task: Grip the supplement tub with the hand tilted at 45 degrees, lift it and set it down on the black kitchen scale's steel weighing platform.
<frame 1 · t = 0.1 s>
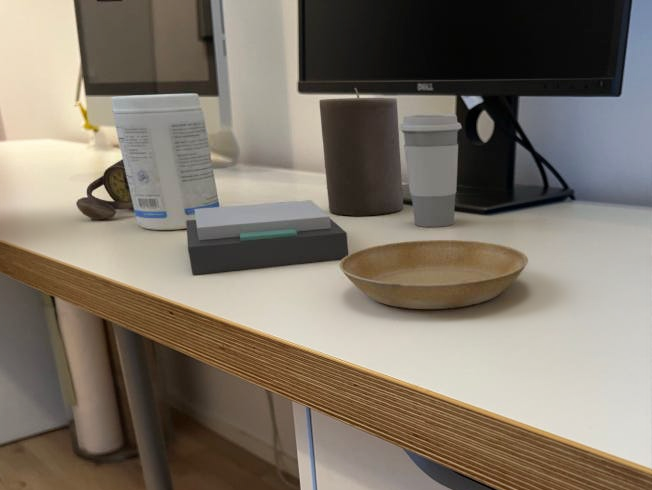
scale: (265, 250, 70), on the table
plant saucer: (435, 292, 56), on the table
pillar candle: (367, 211, 92), on the table
cup: (434, 224, 82), on the table
supplement tub: (180, 225, 85), on the table
antique desk clock: (123, 213, 93), on the table
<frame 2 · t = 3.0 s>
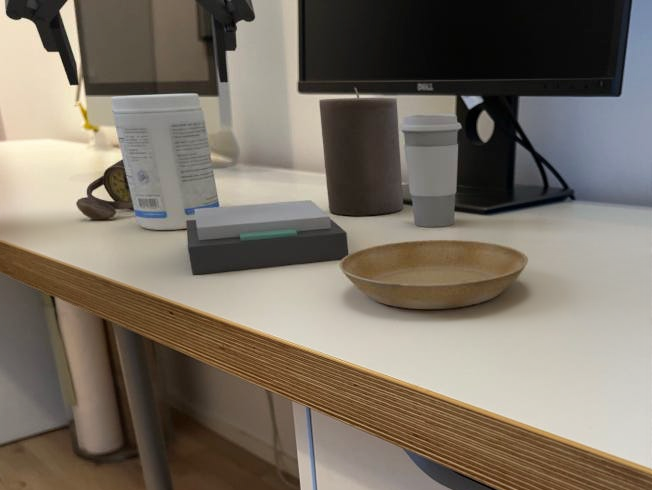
hand: (150, 73, 69), 17 cm above the table, tool tilted 45°, fingers open, 13 cm apart
nothing on the table moved.
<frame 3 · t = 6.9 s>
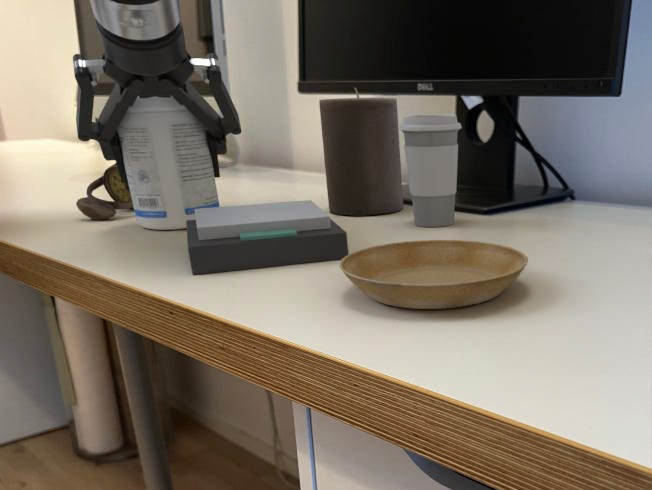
hand: (170, 171, 85), 6 cm above the table, tool tilted 45°, fingers closed on supplement tub, 10 cm apart
supplement tub: (179, 225, 85), on the table, touching gripper
everything else where it was.
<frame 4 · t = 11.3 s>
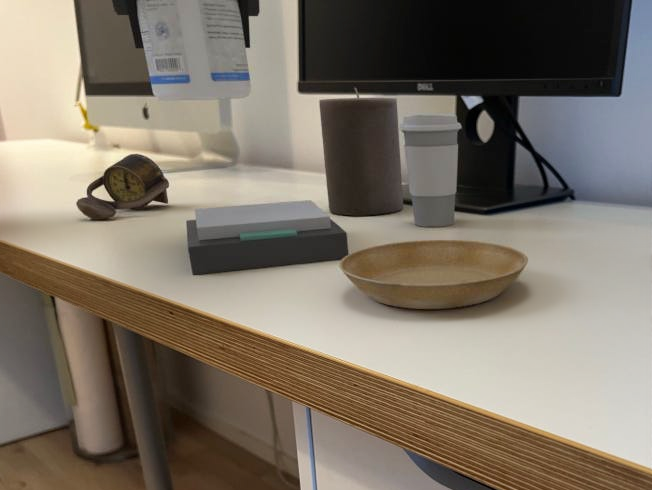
hand: (192, 38, 72), 20 cm above the table, tool tilted 45°, fingers closed on supplement tub, 10 cm apart
supplement tub: (203, 101, 71), point 14 cm above the table, touching gripper
everything else where it was.
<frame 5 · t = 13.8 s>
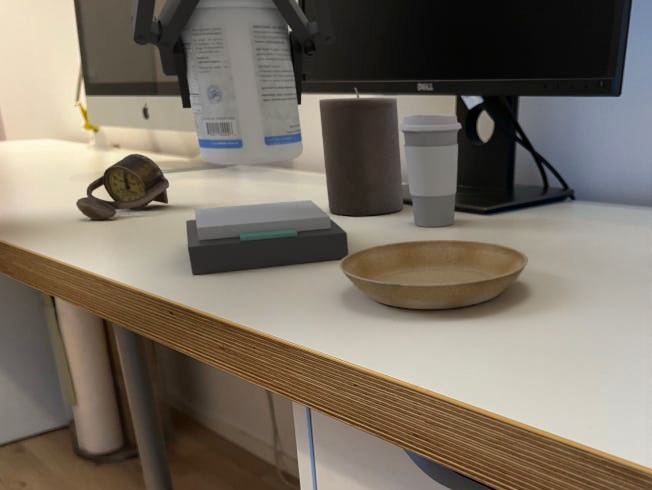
hand: (241, 95, 68), 15 cm above the table, tool tilted 45°, fingers closed on supplement tub, 10 cm apart
supplement tub: (253, 162, 68), point 9 cm above the table, touching gripper
everything else where it was.
when the fingers open (10 cm above the table, at t = 15.8 s): supplement tub stays where it is, resting on scale.
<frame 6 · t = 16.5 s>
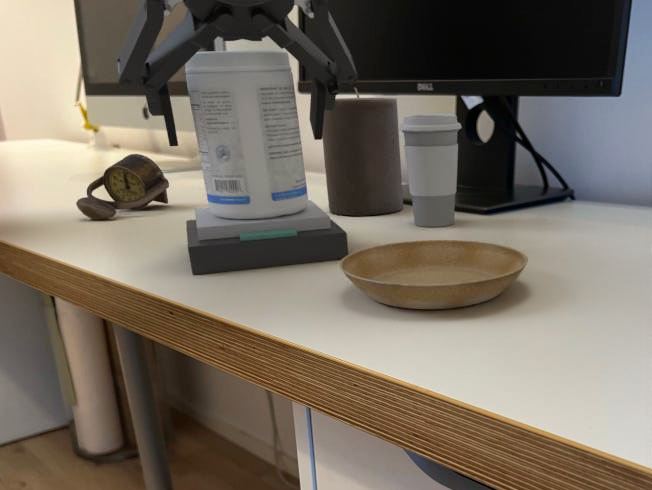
hand: (246, 132, 69), 11 cm above the table, tool tilted 45°, fingers open, 13 cm apart
supplement tub: (259, 214, 70), point 4 cm above the table, touching scale
everything else where it was.
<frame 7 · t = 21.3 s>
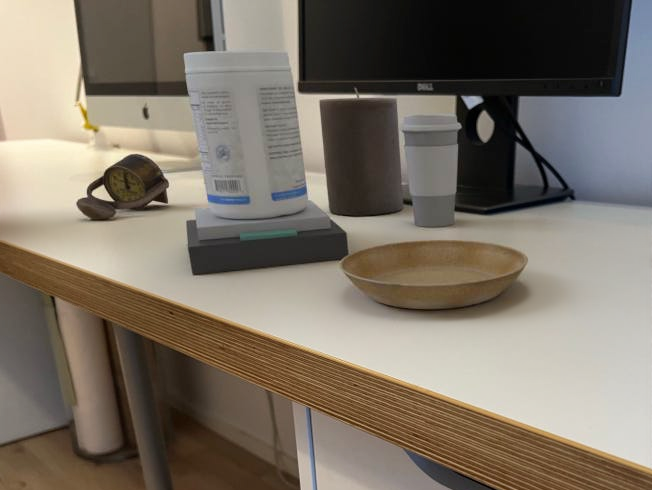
nothing on the table moved.
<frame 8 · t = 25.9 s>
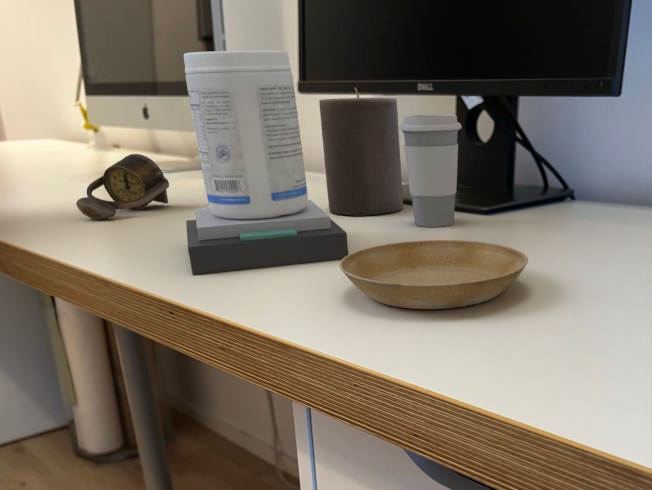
nothing on the table moved.
at the end: supplement tub 0.1 cm from the target spot on the scale, point 3.5 cm above the scale's base; supplement tub tilted 0°; the gripper is holding nothing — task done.
